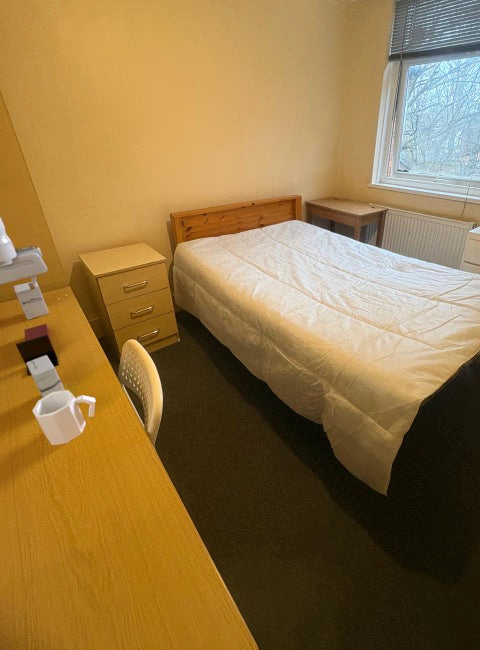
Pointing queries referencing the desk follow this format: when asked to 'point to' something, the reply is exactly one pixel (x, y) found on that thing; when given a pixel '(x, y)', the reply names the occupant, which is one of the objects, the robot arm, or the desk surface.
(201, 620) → the desk surface
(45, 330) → the book
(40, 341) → the bookend
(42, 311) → the white packaging box
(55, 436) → the mug
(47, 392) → the ink box
